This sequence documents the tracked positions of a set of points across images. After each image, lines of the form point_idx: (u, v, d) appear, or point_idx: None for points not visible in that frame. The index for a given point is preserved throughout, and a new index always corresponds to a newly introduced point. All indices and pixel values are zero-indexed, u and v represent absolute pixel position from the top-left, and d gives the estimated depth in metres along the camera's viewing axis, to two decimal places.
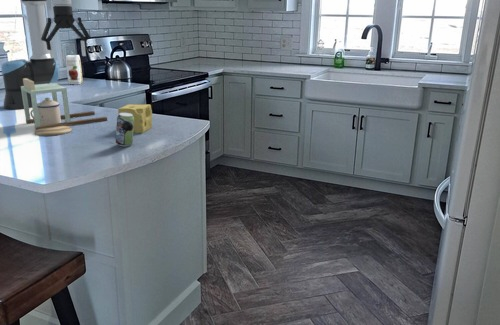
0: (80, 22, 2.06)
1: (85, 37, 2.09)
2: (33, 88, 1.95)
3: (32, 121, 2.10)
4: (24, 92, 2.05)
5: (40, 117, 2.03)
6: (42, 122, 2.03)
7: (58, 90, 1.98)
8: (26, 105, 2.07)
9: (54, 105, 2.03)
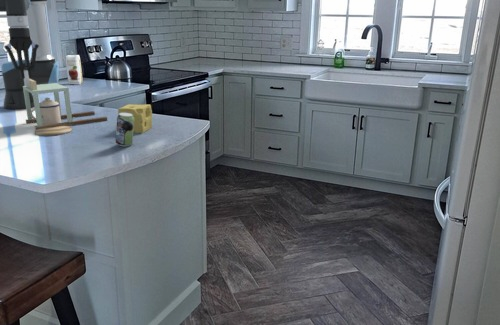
0: (35, 49, 1.96)
1: None
2: (35, 88, 1.95)
3: (32, 121, 2.10)
4: (26, 92, 2.05)
5: None
6: (42, 122, 2.03)
7: (60, 90, 1.99)
8: (28, 105, 2.07)
9: (54, 105, 2.03)
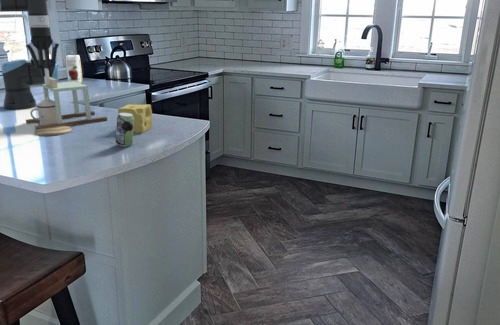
0: (55, 48, 2.01)
1: None
2: (56, 86, 2.00)
3: (32, 121, 2.10)
4: (46, 90, 2.10)
5: (40, 117, 2.03)
6: (42, 122, 2.03)
7: (80, 88, 2.03)
8: None
9: (54, 105, 2.03)
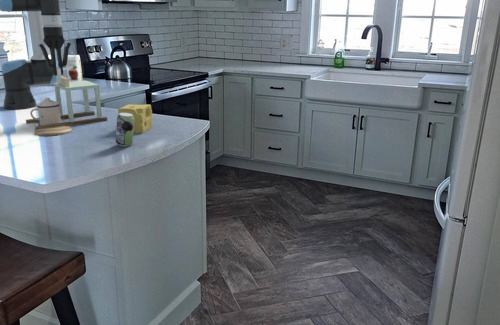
0: (67, 47, 2.03)
1: None
2: (68, 85, 2.03)
3: (32, 121, 2.10)
4: (57, 89, 2.13)
5: (40, 117, 2.03)
6: (42, 122, 2.03)
7: (91, 87, 2.06)
8: (59, 101, 2.15)
9: (54, 105, 2.03)
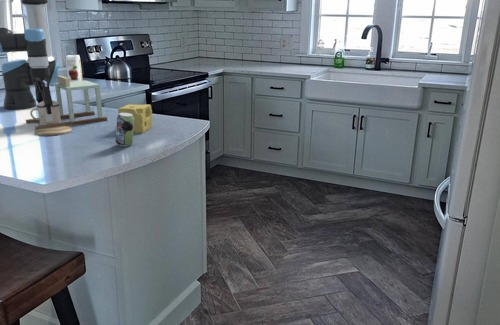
0: (42, 87, 1.96)
1: None
2: (68, 85, 2.03)
3: (32, 121, 2.10)
4: (58, 89, 2.13)
5: (40, 117, 2.03)
6: (42, 122, 2.03)
7: (92, 87, 2.06)
8: (60, 101, 2.15)
9: (54, 105, 2.03)
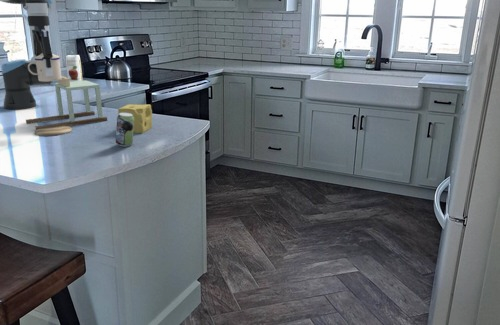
0: (41, 36, 1.78)
1: None
2: (68, 85, 2.03)
3: (32, 121, 2.10)
4: (58, 89, 2.13)
5: (38, 71, 1.85)
6: (41, 77, 1.85)
7: (92, 87, 2.06)
8: (60, 101, 2.15)
9: (54, 58, 1.84)
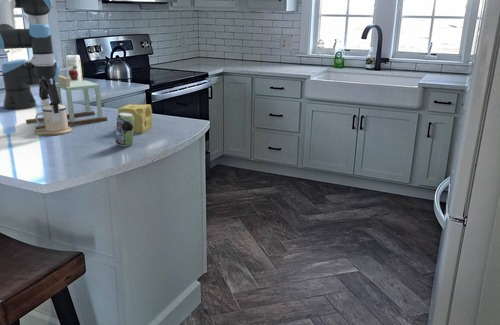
0: (48, 84, 1.83)
1: None
2: (68, 85, 2.03)
3: (32, 121, 2.10)
4: (58, 89, 2.13)
5: (46, 122, 1.91)
6: (48, 127, 1.91)
7: (92, 87, 2.06)
8: (60, 101, 2.15)
9: (60, 109, 1.90)
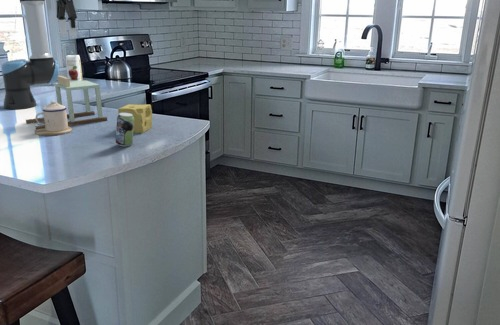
0: (66, 0, 1.99)
1: None
2: (68, 85, 2.03)
3: (32, 121, 2.10)
4: (58, 89, 2.13)
5: (46, 122, 1.91)
6: (48, 127, 1.91)
7: (92, 87, 2.06)
8: (60, 101, 2.15)
9: (61, 109, 1.90)
